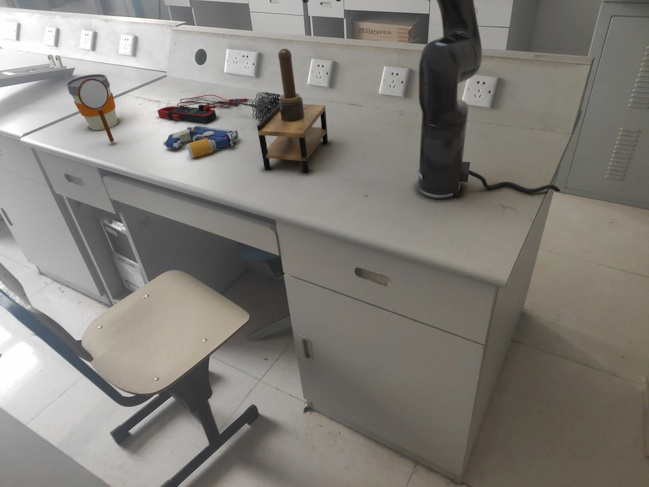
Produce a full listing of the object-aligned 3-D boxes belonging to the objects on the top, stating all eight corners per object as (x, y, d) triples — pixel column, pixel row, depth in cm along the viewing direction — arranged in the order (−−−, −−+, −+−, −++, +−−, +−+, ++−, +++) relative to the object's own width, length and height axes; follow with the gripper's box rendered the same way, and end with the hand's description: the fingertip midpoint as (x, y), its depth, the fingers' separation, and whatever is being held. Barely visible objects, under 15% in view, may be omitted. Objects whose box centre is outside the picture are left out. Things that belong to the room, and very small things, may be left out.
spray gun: (212, 163, 125) (244, 141, 135) (208, 149, 122) (241, 127, 133) (157, 153, 134) (191, 133, 144) (152, 140, 131) (187, 121, 142)
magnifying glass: (101, 150, 139) (74, 84, 126) (99, 148, 139) (71, 83, 127) (127, 139, 143) (103, 74, 131) (124, 138, 144) (100, 74, 132)
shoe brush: (307, 113, 120) (300, 45, 109) (299, 122, 115) (291, 52, 105) (286, 112, 121) (277, 45, 111) (277, 121, 117) (267, 52, 107)
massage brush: (248, 111, 154) (243, 83, 148) (300, 121, 143) (297, 91, 138) (229, 121, 148) (223, 93, 142) (282, 132, 138) (278, 102, 132)
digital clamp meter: (209, 113, 143) (150, 106, 152) (213, 127, 145) (154, 119, 155) (250, 88, 159) (194, 82, 169) (252, 100, 162) (197, 94, 171)
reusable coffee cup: (80, 125, 156) (61, 81, 147) (116, 114, 162) (100, 71, 153) (90, 135, 148) (71, 90, 139) (128, 124, 154) (111, 79, 145)
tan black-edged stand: (328, 142, 130) (324, 100, 122) (307, 173, 116) (302, 128, 109) (289, 140, 133) (283, 99, 126) (264, 169, 120) (256, 126, 112)
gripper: (280, -76, 101) (289, 5, 111) (341, -82, 97) (346, 3, 106) (292, -78, 107) (300, 0, 116) (350, -84, 102) (354, -3, 112)
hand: (322, 1), depth 111 cm, fingers open, 8 cm apart
